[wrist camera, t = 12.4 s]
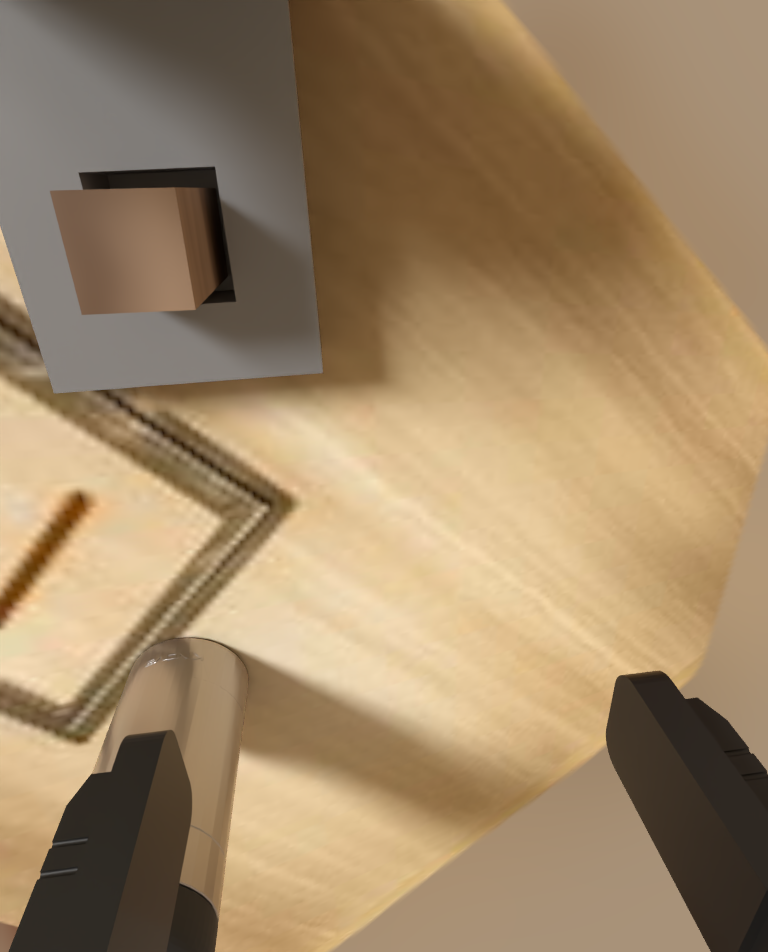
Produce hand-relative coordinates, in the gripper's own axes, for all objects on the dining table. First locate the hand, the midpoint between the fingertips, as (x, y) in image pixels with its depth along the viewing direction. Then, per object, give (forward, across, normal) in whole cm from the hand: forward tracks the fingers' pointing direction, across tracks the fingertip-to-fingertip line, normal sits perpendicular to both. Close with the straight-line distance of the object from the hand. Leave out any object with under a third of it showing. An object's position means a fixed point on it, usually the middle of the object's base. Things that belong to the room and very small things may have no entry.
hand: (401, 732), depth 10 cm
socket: (+28, +8, -9) cm, 31 cm away
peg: (+27, +8, -7) cm, 29 cm away
